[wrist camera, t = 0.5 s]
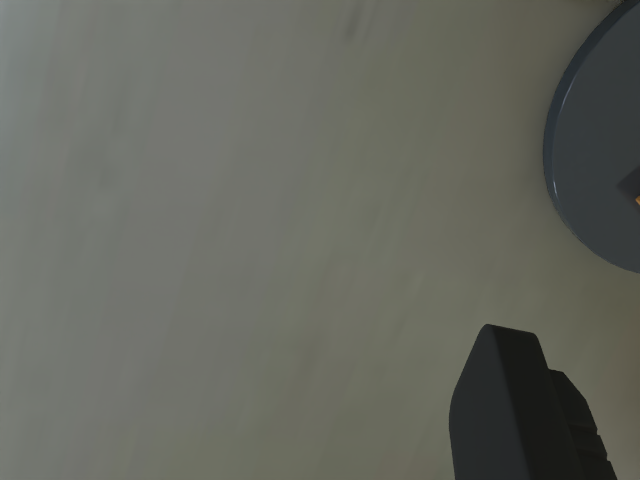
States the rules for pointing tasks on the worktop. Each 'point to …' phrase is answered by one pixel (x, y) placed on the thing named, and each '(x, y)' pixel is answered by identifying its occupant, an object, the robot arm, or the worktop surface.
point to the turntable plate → (600, 140)
